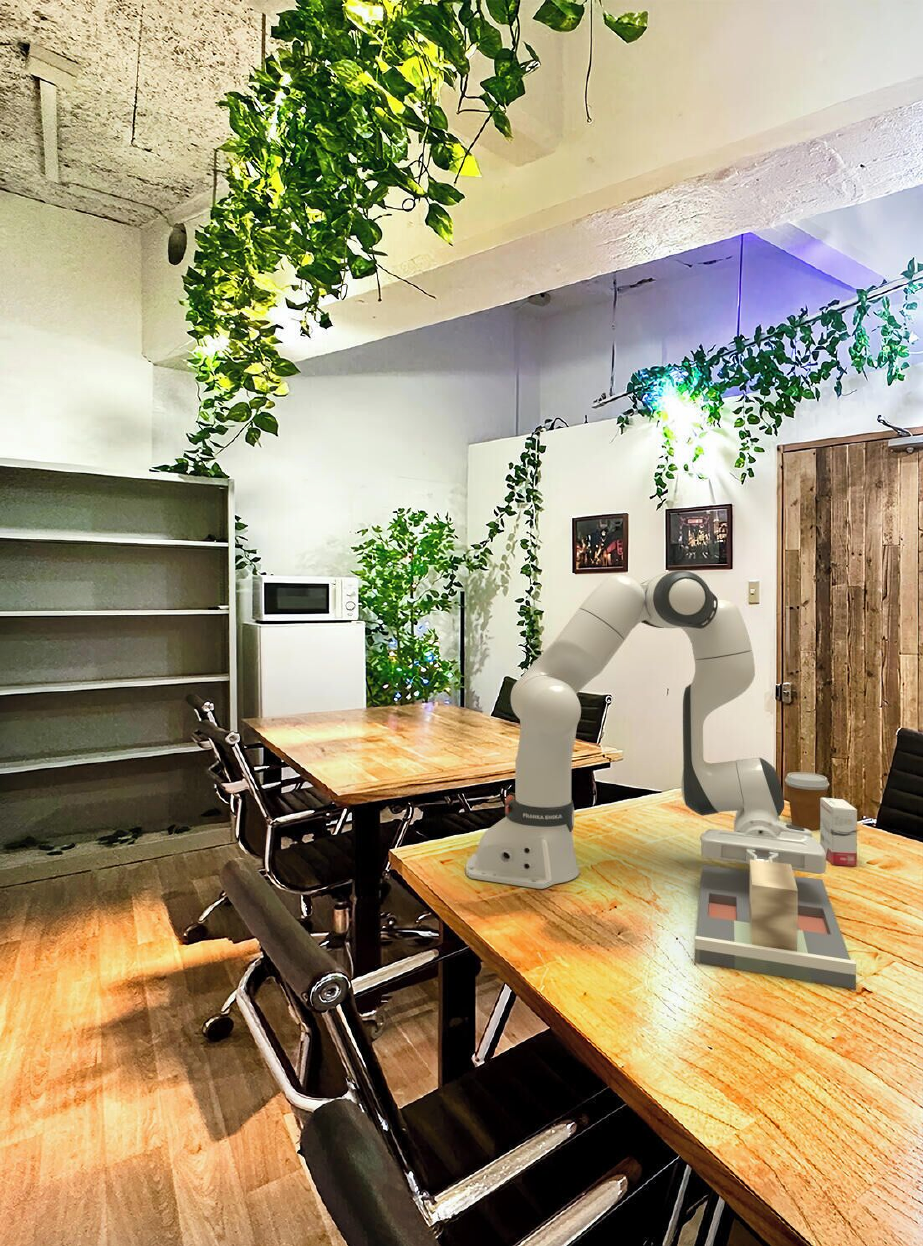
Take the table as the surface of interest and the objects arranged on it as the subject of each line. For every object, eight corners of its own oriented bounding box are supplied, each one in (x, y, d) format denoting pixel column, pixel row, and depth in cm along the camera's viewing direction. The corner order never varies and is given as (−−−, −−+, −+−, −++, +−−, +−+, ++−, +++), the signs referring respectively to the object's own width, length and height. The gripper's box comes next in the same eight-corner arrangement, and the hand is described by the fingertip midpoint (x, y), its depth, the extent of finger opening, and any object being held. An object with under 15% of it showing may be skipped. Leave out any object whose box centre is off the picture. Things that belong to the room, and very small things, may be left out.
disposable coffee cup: (775, 822, 170) (776, 773, 170) (807, 818, 173) (807, 770, 173) (805, 834, 161) (806, 782, 161) (838, 830, 164) (838, 779, 164)
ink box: (858, 867, 141) (858, 809, 141) (831, 865, 142) (832, 807, 142) (843, 852, 149) (844, 797, 149) (819, 850, 150) (819, 796, 150)
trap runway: (694, 961, 103) (695, 938, 103) (702, 874, 137) (702, 857, 137) (855, 989, 96) (856, 964, 96) (822, 889, 130) (822, 871, 130)
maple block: (751, 952, 102) (752, 884, 102) (749, 920, 112) (749, 859, 112) (797, 959, 100) (797, 890, 100) (790, 926, 110) (790, 864, 110)
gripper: (701, 816, 134) (698, 838, 121) (820, 830, 127) (831, 855, 114) (700, 849, 134) (697, 874, 121) (819, 865, 127) (829, 894, 114)
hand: (763, 865), depth 117 cm, fingers closed
